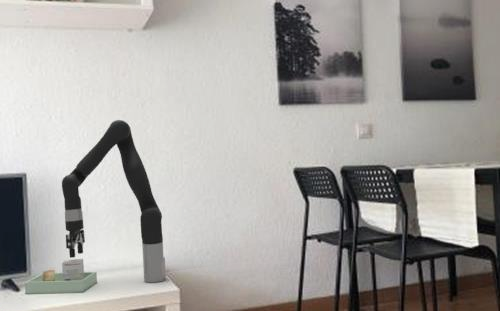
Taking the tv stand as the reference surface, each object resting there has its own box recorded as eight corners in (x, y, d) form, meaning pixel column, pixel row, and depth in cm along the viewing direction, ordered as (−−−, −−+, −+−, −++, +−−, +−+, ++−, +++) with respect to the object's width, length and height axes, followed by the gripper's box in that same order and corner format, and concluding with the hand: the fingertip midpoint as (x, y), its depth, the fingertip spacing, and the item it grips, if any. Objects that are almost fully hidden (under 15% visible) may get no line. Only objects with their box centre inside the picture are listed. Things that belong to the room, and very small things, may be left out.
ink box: (85, 284, 228) (83, 258, 228) (83, 287, 223) (82, 260, 223) (65, 285, 226) (63, 259, 226) (63, 289, 221) (61, 262, 221)
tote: (97, 282, 232) (96, 272, 232) (82, 292, 216) (82, 280, 216) (43, 284, 234) (42, 273, 234) (25, 293, 219) (24, 282, 219)
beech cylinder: (57, 286, 227) (57, 270, 227) (48, 288, 222) (48, 272, 223) (49, 285, 229) (49, 269, 229) (40, 287, 225) (40, 272, 225)
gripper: (75, 221, 219) (78, 258, 220) (88, 216, 234) (91, 251, 234) (58, 222, 220) (61, 259, 220) (72, 217, 234) (75, 252, 234)
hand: (76, 255), depth 227 cm, fingers open, 8 cm apart
